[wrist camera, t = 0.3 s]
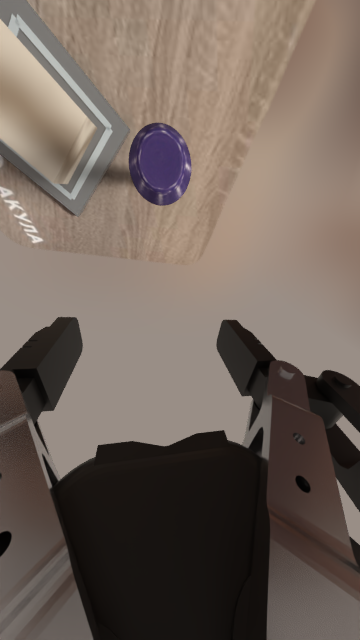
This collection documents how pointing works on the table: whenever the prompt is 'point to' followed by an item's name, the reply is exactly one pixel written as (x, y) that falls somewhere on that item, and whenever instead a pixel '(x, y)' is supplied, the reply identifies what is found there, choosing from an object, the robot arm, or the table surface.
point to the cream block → (39, 113)
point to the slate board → (111, 130)
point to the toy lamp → (160, 164)
